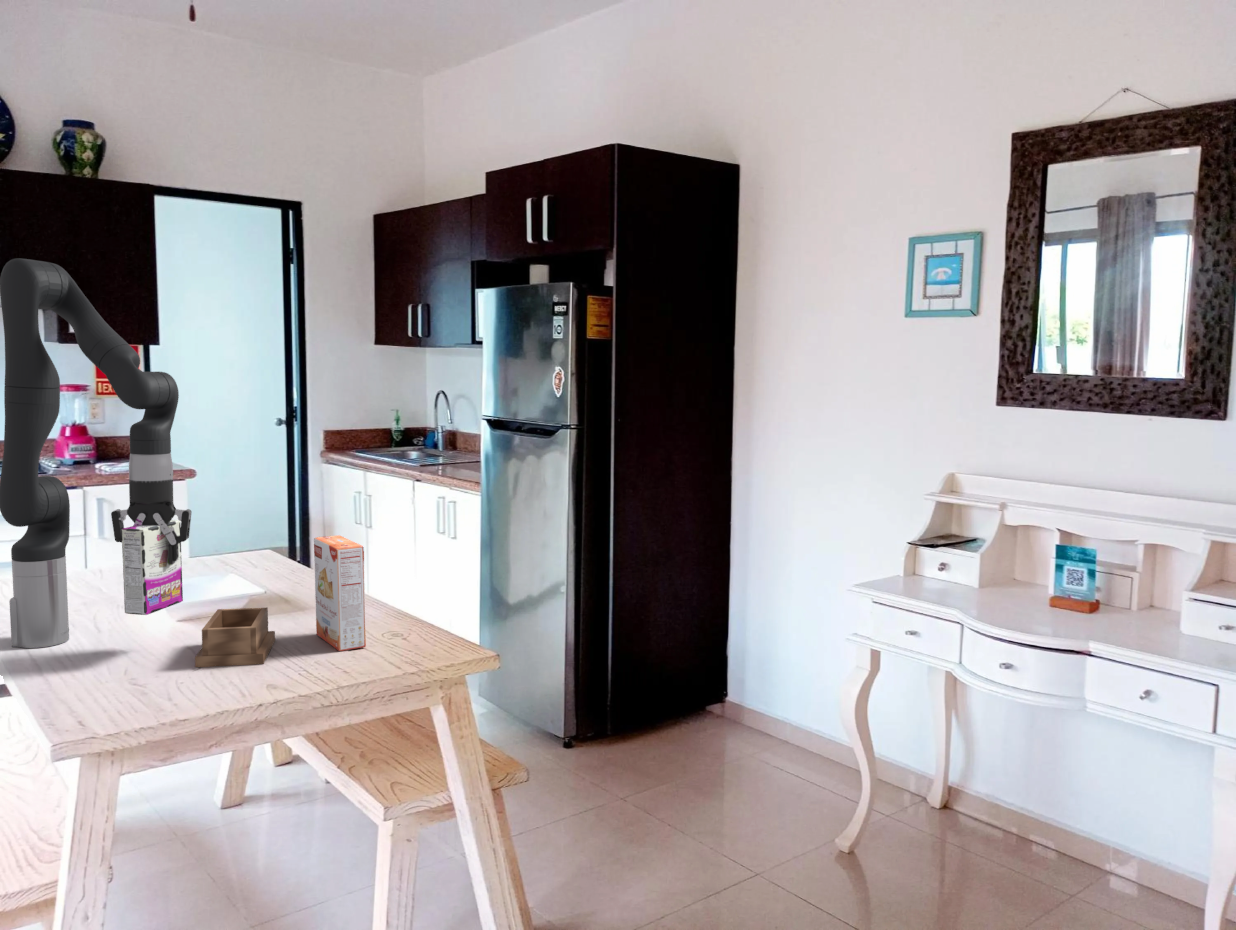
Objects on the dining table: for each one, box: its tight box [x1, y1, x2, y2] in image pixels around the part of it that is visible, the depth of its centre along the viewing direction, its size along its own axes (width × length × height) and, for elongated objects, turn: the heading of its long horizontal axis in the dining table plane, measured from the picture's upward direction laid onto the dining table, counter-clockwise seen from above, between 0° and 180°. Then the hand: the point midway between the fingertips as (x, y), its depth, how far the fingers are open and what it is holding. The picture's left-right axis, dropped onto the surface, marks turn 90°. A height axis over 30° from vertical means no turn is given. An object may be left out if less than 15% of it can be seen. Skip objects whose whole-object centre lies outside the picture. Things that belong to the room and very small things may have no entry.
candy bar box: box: [121, 519, 184, 616], centre depth 185 cm, size 11×5×16 cm, turn 169°
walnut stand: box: [194, 607, 276, 668], centre depth 188 cm, size 12×16×7 cm
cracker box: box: [313, 534, 367, 652], centre depth 196 cm, size 14×6×21 cm, turn 35°
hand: (152, 563), depth 185 cm, fingers closed on candy bar box, 6 cm apart
